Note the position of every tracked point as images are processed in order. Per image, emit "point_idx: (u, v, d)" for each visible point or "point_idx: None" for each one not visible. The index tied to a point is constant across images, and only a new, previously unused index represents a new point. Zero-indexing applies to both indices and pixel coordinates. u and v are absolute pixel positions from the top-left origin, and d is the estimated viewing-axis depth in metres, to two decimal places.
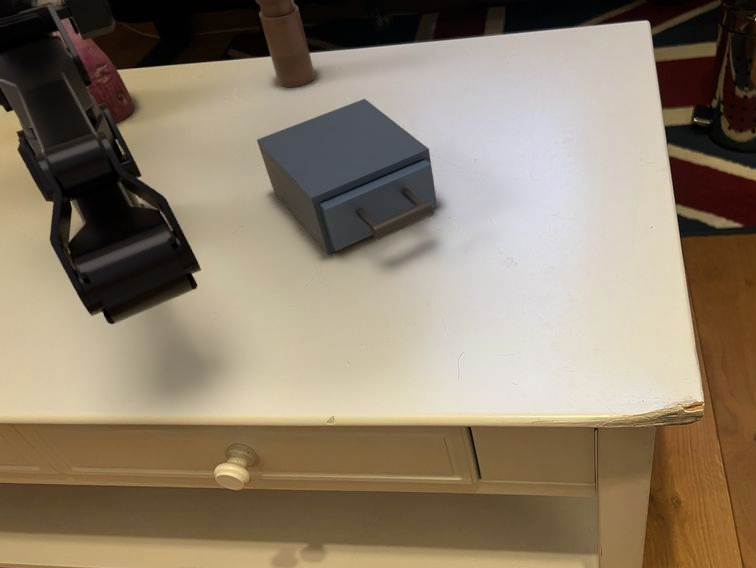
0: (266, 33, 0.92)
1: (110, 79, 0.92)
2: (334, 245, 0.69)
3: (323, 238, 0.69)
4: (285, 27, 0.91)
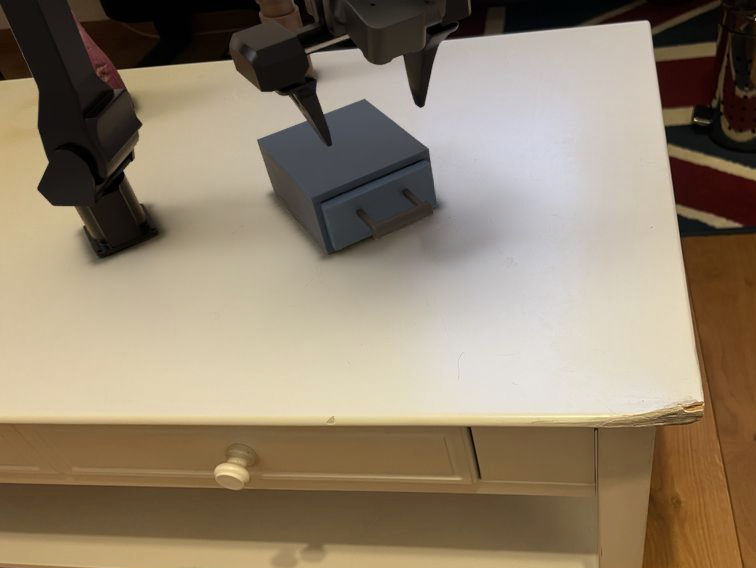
0: None
1: (110, 79, 0.92)
2: (334, 245, 0.69)
3: (323, 238, 0.69)
4: (285, 27, 0.91)
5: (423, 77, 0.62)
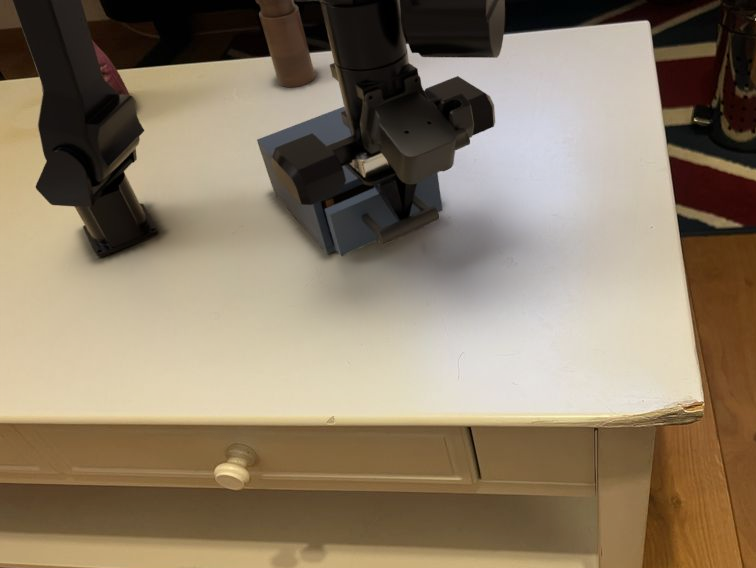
0: (266, 33, 0.92)
1: (110, 79, 0.92)
2: (339, 250, 0.69)
3: (323, 238, 0.69)
4: (285, 27, 0.91)
5: (407, 196, 0.65)
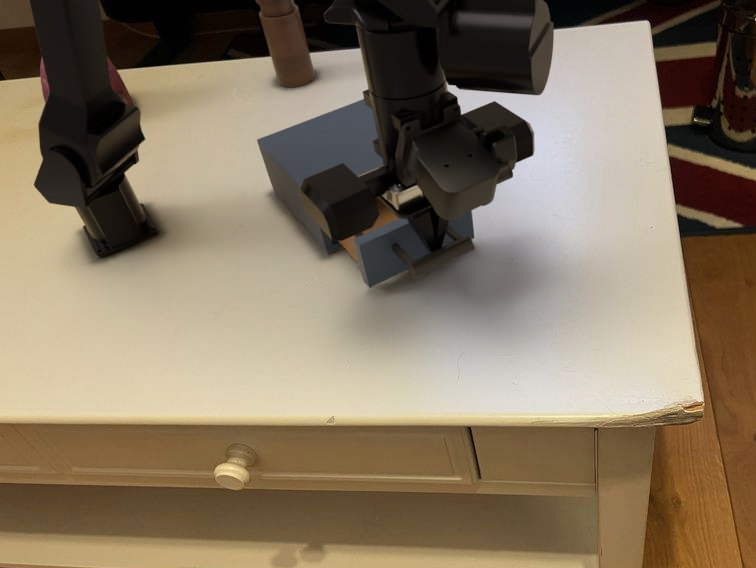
0: (266, 33, 0.92)
1: (110, 79, 0.92)
2: (367, 282, 0.65)
3: (323, 238, 0.69)
4: (285, 27, 0.91)
5: (440, 227, 0.61)
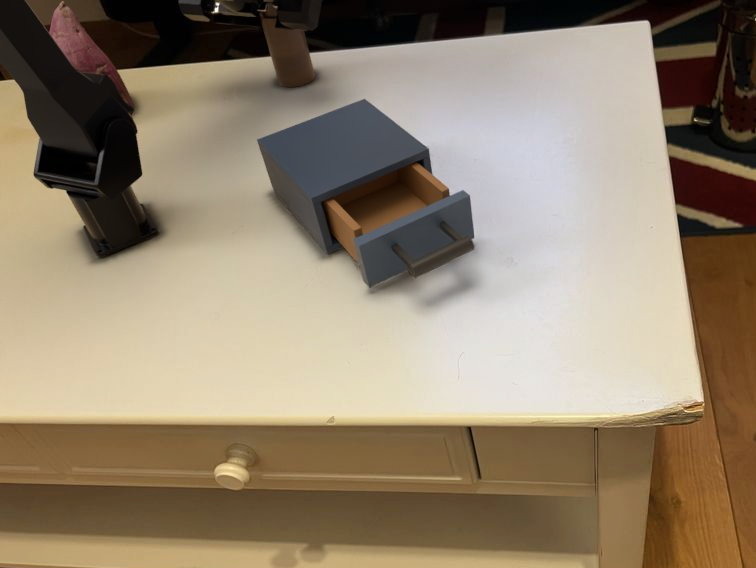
0: (266, 33, 0.92)
1: None
2: (367, 282, 0.65)
3: (323, 238, 0.69)
4: None
5: None
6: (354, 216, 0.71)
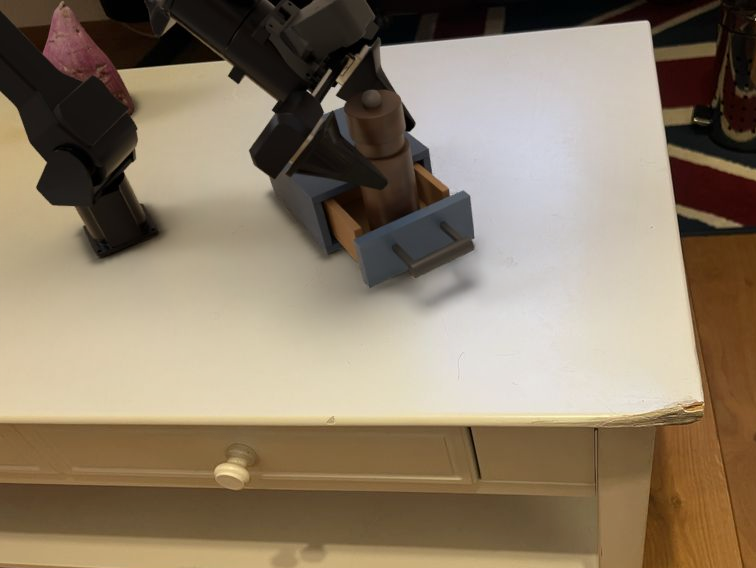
0: None
1: (110, 79, 0.92)
2: (367, 282, 0.65)
3: (323, 238, 0.69)
4: None
5: None
6: (354, 216, 0.71)
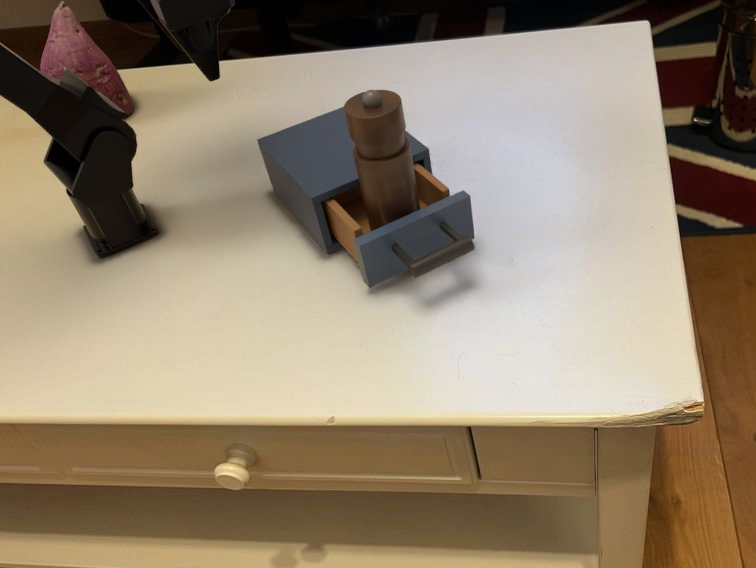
0: None
1: (110, 79, 0.92)
2: (367, 282, 0.65)
3: (323, 238, 0.69)
4: (358, 169, 0.63)
5: None
6: (354, 216, 0.71)
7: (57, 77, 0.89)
